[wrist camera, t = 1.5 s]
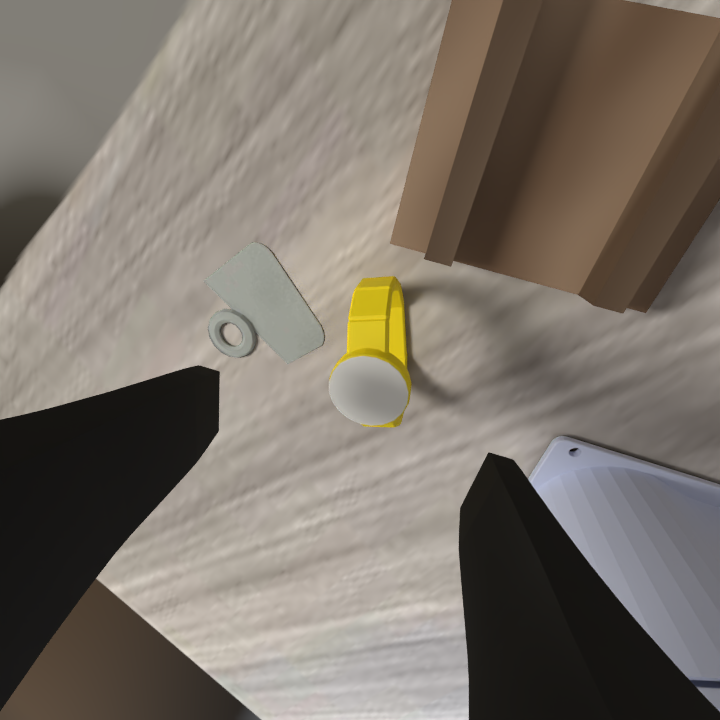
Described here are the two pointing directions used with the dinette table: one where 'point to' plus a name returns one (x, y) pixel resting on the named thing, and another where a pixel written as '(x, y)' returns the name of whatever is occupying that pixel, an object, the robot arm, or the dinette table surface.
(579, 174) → the rack
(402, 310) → the watch
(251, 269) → the mounting bracket
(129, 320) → the dinette table surface
